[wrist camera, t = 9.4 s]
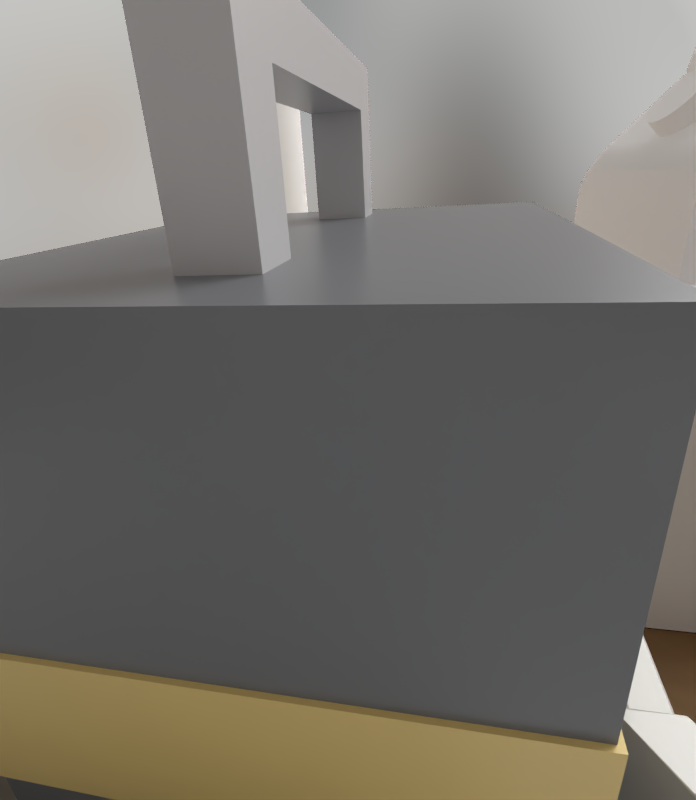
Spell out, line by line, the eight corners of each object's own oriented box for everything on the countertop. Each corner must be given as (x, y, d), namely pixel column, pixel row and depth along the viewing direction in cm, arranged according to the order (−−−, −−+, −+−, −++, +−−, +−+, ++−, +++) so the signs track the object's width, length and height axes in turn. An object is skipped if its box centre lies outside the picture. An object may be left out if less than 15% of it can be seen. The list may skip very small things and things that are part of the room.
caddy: (174, 1117, 8) (-446, -57, 2) (288, 738, 14) (188, 97, 8) (509, 1229, 7) (912, -364, 1) (489, 771, 13) (548, 62, 7)
